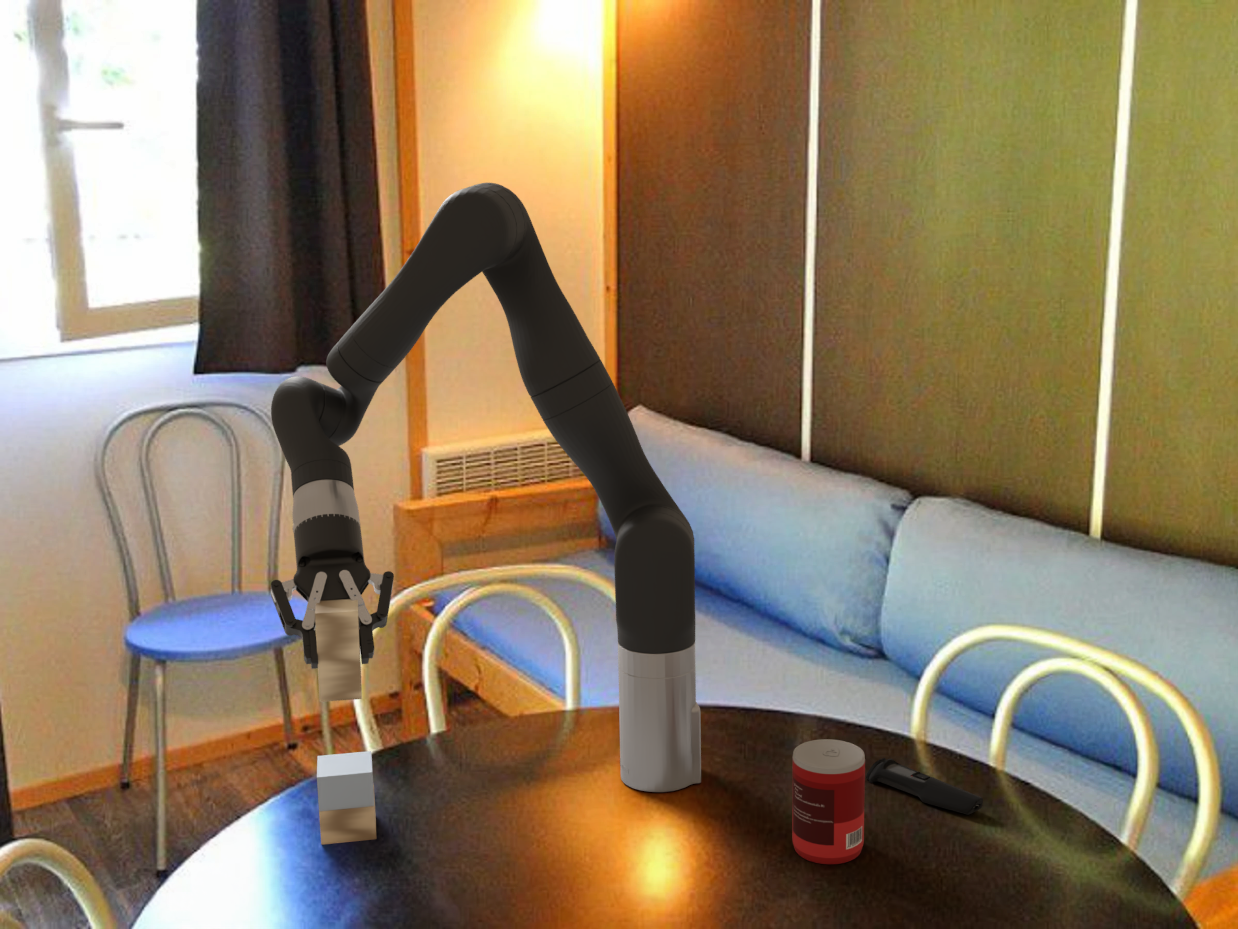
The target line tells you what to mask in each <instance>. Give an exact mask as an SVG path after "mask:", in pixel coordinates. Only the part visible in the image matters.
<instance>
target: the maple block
mask: <svg viewBox="0 0 1238 929" xmlns="http://www.w3.org/2000/svg"><path fill="white" fill-rule="evenodd" d="M315 622H316V627H315V630H316V642H317V654H318V668H317V678H318V698H319V703H321V702H325V703H326V702H337V701H338V702H339V701H350V700H351V701H352V700H354V701H355V700H362V699H363V698H362V694H363V692H362V669H361V668H362V666H361V665H362V662H361V652H360V641H359V618H358V600H350V599H346V600H328V601H320V603H316V609H315Z"/></svg>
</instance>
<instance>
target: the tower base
mask: <svg viewBox="0 0 1238 929" xmlns="http://www.w3.org/2000/svg"><path fill="white" fill-rule="evenodd" d="M373 790H374V791H375V784H374V783H373ZM375 798H376V797H375V795H374V806H369V807H359V808H349V809H339V810H329V811H319V810H318V814H319V815H318V817H319V829H320V830H319V832H320V845H331V844H341V843H349V842H352V843H353V842H359V841H360V842H362V841H370V840H371V841H372V840H377V819H376V818H377V816H376V800H375Z"/></svg>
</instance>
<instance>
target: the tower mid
mask: <svg viewBox="0 0 1238 929" xmlns="http://www.w3.org/2000/svg"><path fill="white" fill-rule="evenodd" d="M372 757H373V756H372V750H369V751H368V750H367V751H358V752H357V751H356V752H346V753H335V754H333V753H332V754H325V755H317V759H316V760H317V762H316V784H317V799H318V800H317V801H318V812H319V811H329V810H339V809H349V808H359V807H369V806H374V796H375V789H374V790H373V784H374V776H373V761H372V760H373V758H372Z"/></svg>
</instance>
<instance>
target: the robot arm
mask: <svg viewBox="0 0 1238 929" xmlns="http://www.w3.org/2000/svg"><path fill="white" fill-rule="evenodd" d="M481 273H482V274H483V276H484V277H485V279H486V280H487V282H488V284H489V286H490V287H491V289H492V290H493V292H494V294H495V295H496V298H497V299H498V301H499V303H500V305H501V307H502V310H503V312H504V315H505V318H506V321H507V324H508V328H509V334H510V336H511V342H512V345H513V346H512V347H513V351H514V356H515V359H516V364H517V367H518V371H519V374H520V376H521V379H522V382H523V384H524V385H523V386H524V387H525V389H526V392H527V393H528V395H529V396H530V399H531V400H532V403H533V404H534V406H535V408H536V410H537V412H538V414H539V415H540V417H541V419H542V421H543V422H544V424H545V426H546V428H547V429H548V431H549V433H550V434H551V436H552V437H553V439H555V441H556V442H557V444H558V445H559V446H560V448H561V449H562V450H563V451H564V452H565V454H566V455H567V456H568V457H569V458H570V460H571V461H572V462H573V463H574V465H575V466H576V467H577V468H578V469H579V470H580V471H581V472H582V473H583V475H584V476H585V477H586V479H587V481H589V483H590V484H591V486H592V488H593V489H594V490H595V493H596V495H597V497H598V500H599V501H600V503H601V505H602V506H603V509H604V512H605V514H606V516H607V518H608V521H609V523H610V525H611V529H612V531H613V534H614V537H615V539H616V542H615V548H614V559H613V560H614V563H613V564H614V567H613V569H614V595H615V600H614V601H615V620H616V621H615V622H616V628H617V657H618V658H617V659H618V660H617V664H618V666H617V667H618V669H617V671H618V710H619V711H618V714H619V715H618V716H619V717H618V718H619V756H620V757H619V766H620V779H621V782H623V784H625V785H626V786H627V787H630V788H632V789H635V790H638V791H644V792H648V793H649V792H652V793H667V792H674V791H678V790H681V789H684V788H686V787H688V786H690V785H693V784H701V783H702V756H701V755H702V754H701V753H702V750H701V748H702V746H701V745H702V742H701V738H702V735H701V734H702V733H701V723H702V722H701V706H699V704H698V703H697V694H696V693H697V689H696V686H697V685H696V681H697V680H696V677H697V676H696V674H697V673H696V672H697V671H696V571H695V570H696V569H695V568H696V567H695V566H696V564H695V563H696V562H695V560H696V559H695V556H696V555H695V545H696V544H695V535H694V530H693V528H692V526H691V524H690V522H689V520H688V518H686V515H685V514H684V513H683V512H682V509H681V508H680V507H679V506H678V504H677V503H676V502H675V500H674V499H673V497H672V496H671V494H670V493H669V491H668V490H667V488H666V486H664V484H663V482H662V481H661V479H660V478H659V476H658V475H657V473H656V471H655V469H654V468H653V467H652V465H651V463H650V461H649V460H648V458H647V456H646V454H645V452H644V450H643V447H642V444H641V442H640V440H639V437H638V435H637V433H636V429H635V426H634V425H633V423H632V421H631V419H630V416H629V414H628V412H627V409H626V407H625V405H624V403H623V401H622V399H621V397H620V394H619V392H618V390H617V388H616V386H615V384H614V382H613V380H612V378H611V376H610V374H609V372H608V371H607V369H606V367H605V365H604V362H603V361H602V359H601V357H600V355H599V354H598V352H597V351H596V349H595V347H594V345H593V344H592V342H591V341H590V338H589V337H588V335H587V333H586V330H585V329H584V328H583V326H582V324H581V322H580V320H579V319H578V316H577V315H576V313H575V312H574V309H573V307H572V306H571V305H570V302H569V301H568V299H567V297H566V296H565V295H564V293H563V291H562V289H561V287H560V285H559V284H558V282H557V279H556V277H555V275H554V273H553V271H552V269H551V267H550V265H549V261H548V259H547V257H546V255H545V251H544V250H543V247H542V245H541V242H540V240H539V237H538V235H537V232H536V230H535V226H534V225H533V222H532V220H531V218H530V215H529V213H528V210H527V209H526V207H525V205H524V203H523V202H522V200H521V199H520V198H519V197H518V196H517V194H515V193H514V192H513V191H512V190H510V189H509V188H508V187H505V186H504V185H501V184H499V183H494V182H481V183H477V184H474V185H471V186H468V187H465V188H461V189H459V190H457V191H455V192H453V193H452V194H450V195H449V196H448V197H447V198H445V200H444V201H443V202H442V203H441V205H440V206H439V208H438V209H437V211H436V213H435V214H434V216H433V218H432V220H431V221H430V223H429V225H428V227H427V228H426V230H425V231H424V233H423V234H422V236H421V238H420V240H419V242H418V243H417V245H416V246H415V248H414V250H413V251H412V252H411V254H410V256H409V257H408V258H407V260H406V261H405V263H404V264H403V266H402V267H401V268H400V270H399V271H398V273H397V274H395V277H394V278H393V279H392V280H391V281H390V283H389V284H387V286H386V287H385V289H383V291H382V292H381V293H380V294H379V295H378V297H376V298H375V299H374V301H373V302H372V303H371V304H370V305H369V306H368V307H367V308H366V310H365V311H364V312H363V313H362V314H361V315H360V316H359V317H358V318H357V319H356V321H354V323H353V324H352V325H351V327H350V328H348V330H347V331H346V332H345V333H344V334H343V336H342V337H341V338H340V339H339V341H337V343H336V344H335V345H334V346H333V347H332V348H331V349H330V351H329V353H328V355H327V356H326V359H325V360H326V368H327V371H328V373H329V374H330V376H331V377H332V378H333V380H334V381H335V382H336V383H337V384H339V387H338V388H337V389H336V388H333V387H331V386H328V385H326V384H323V383H321V382H318V381H316V380H314V379H312V378H308V377H305V376H299V375H298V376H296V375H295V376H292V377H289V378H286V379H285V380H283V381H281V383H280V384H279V385H278V387H277V388H276V390H275V392H274V394H273V396H272V401H271V407H270V417H271V422H272V427H273V430H274V434H275V435H276V438H277V441H278V443H279V445H280V448H281V450H282V453H283V456H284V458H285V461H286V462H287V465H288V466H289V469H290V477H291V479H290V480H291V488H292V491H291V492H292V502H293V503H292V514H291V515H292V516H291V517H292V533H293V538H294V551H295V561H296V572H295V574H294V576H293V578H292V579H288V580H284V581H281V580H279V579H274V580H272V581H271V583H270V597H271V600H272V602H273V605H274V608H275V609H276V612H277V616H278V617H279V620H280V623H281V626H282V628H283V631H284V633H285V634H286V635H287V636H290V637H292V636H294V635H295V636H297V637H300V638H301V640H302V648H303V661H304V662H305V664H306V665H310V668H311V670H315V669H316V670H317V669H318V654H317V642H316V622H315V609H316V603H320V601H328V600H346V599H350V600H358V618H359V641H360V661H361V665H368V664H369V661H370V659H373V658H374V655H375V642H374V634H373V631H374V630H376V629H379V628H380V629H382V628H383V629H384V628H386V626H387V622H388V616H389V612H390V604H391V599H392V592H393V589H394V588H393V586H394V581H395V580H394V579H395V578H394V577H395V574H394V573H393V572H392V571H389V570H387V571H384V572H383V574H382V573H374V572H371V571H370V569H369V567H368V566H367V564H366V562H365V556H364V555H365V554H364V545H363V539H362V529H361V528H362V527H361V520H360V511H359V506H358V502H357V498H356V496H355V494H356V493H355V487H354V479H353V471H352V470H353V469H352V463H351V459H350V457H349V454H348V453H347V452H346V451H345V449H343V448H342V447H341V446H342V445H345V444H346V443H347V442H349V441H350V440H351V439H352V438H353V437H354V436H355V434H356V433H357V432H358V429H359V427H360V426H361V423H362V421H363V418H364V416H365V414H366V412H367V410H368V408H369V406H370V405H371V402H372V400H373V399H374V396H375V393H376V392H377V390H378V388H379V387H380V385H381V384H383V383H384V382H385V380H386V379H387V378H388V377H389V376H390V375H391V374H392V372H393V371H394V370H396V368H397V367H398V366H399V365H400V364H401V362H402V361H403V360H404V359H405V358H406V357H407V355H409V353H410V352H411V350H412V349H413V347H415V345H416V343H417V342H418V341H419V339H420V337H421V335H422V334H423V333H424V331H425V330H426V329H427V326H428V325H429V323H430V321H432V319H433V317H434V316H435V315H437V313H438V311H439V310H440V309H441V308H442V307H443V306H444V304H446V302H448V300H450V298H451V297H452V296H453V295H455V293H456V292H457V293H458V291H459V290H461V289H462V288H463V287H464V286H465V285H466V284H469V282H470V281H473V279H474V278H475V277H477V276H478V275H480V274H481ZM369 585H371V586H373V590H374V593H375V594H378V596H379V598H378V601H377V602H378V603H377V609H376V611H375V612H373V613H370V612H369V610H368V608H367V606H366V604H365V600H364V598H363V597H362V596H363V594H364V592H365V590H366V589H367V588H368V586H369ZM294 591H296V592H297V593H298V594H299V595H300V596H301V597H302V598H303V599H304V600H305V601H306V603H307V605H306V609H305V613H304V616H303V620H302V619H298V618H296V617H295V613H294V611H293V608H292V606H291V603H290V601H292V599H293V592H294Z"/></svg>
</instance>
